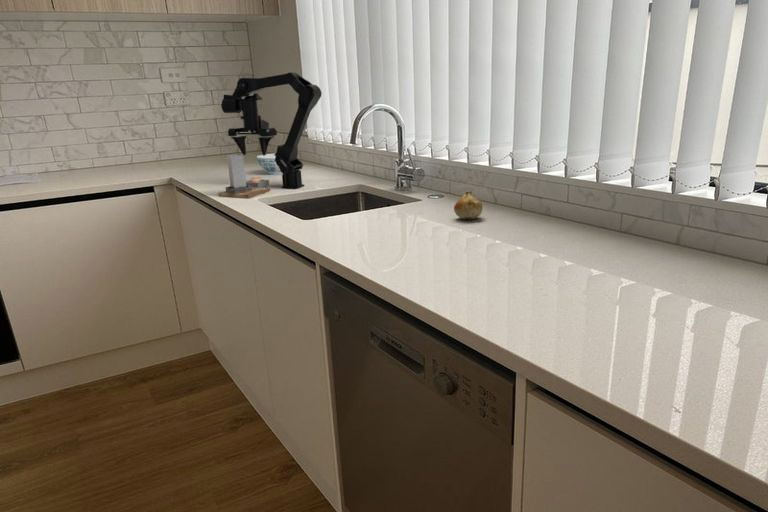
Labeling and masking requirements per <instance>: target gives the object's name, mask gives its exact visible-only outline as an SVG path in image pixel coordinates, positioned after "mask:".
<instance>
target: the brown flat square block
mask: <svg viewBox="0 0 768 512" xmlns="http://www.w3.org/2000/svg"><path fill="white" fill-rule="evenodd" d="M224 189H225V191H221V192H218V197H220V198H221V197H222V198H237V199H251V198H255V197H257V195H258V196H261V195H264V194H267V193H270V192H269V191H271V188H270V187H265V188H257V187H251V186H250V185H246V188H242V189H231V186H230V185H229V186H225V188H224ZM266 192H267V193H266ZM263 193H264V194H263ZM260 194H261V195H260ZM254 196H255V197H254Z"/></svg>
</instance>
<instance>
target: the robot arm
mask: <svg viewBox="0 0 768 512" xmlns="http://www.w3.org/2000/svg"><path fill="white" fill-rule="evenodd" d="M287 85H290V87H291V88H292V90H294V92H296V93H297V94H298V97H297V104H298V107H297V110H296V112H295V115H294V118H293V120H292V123H291V126H290V130H289V132H288V135H287V137H286V140H285V142H284V144H279V145H277V148H276V152H275V153H274V154H275V155H274V156H276V157H275V162H276V164H277V165H278V166H279V168H280V171H281V173H282V175H281V179H282V186H281V188H282V189H291V188H293V189H294V188H296V189H298V187H299V188H301V186H302V187H305V184H303V179H302V178H303V177H302V169H303V166H304V163H302V161H301V160H300V159H298V153H299V142H300V140H301V138H302V135H303V134H304V133H303V132H304V130H305V128H306V124H307V122H308V119H309V116H310V113H311V111H312V110H313V109H314V108H315V106H317V104H318V102H319V101H320V99H321V97H322V90H321V88H320V87H319V86H318V85H317V84H313V83H312V82H310V81H309V80H307V79H305V78H304V77H302V76H301V75H300V74H299V73H297V72H295V71H293V72H292V71H291V72H287V73H283V74H278V75H277V74H276V75H272V76H265V77H241V78H239V79H238V80H237V82H236V88H235V89H234V91H233V93H232V94H223V98H222V101H221V105H220V106H221V111H223V113H224V114H240V113H242V114H241V116H240V120H242V123H243V126H242V127H230V128H228V130H227V135H228V137H230V138H231V139H232V140H233V141H234V142H235V144H236V146H237V147H238V149H239V150H240V151H241V154H242V155H243V156H246V154H247V150H246V149H247V148H246V139H247V135H259V136H260V137H258V140H259V144H260V145H259V146H260V150H261V153H262V154H261V155H263V156H265V155H266V154H267V152H268V151H267V150H268V147H269V144H270V141H271V140H272V139H274V138H275V136H277V135H278V134H277V129H276V128H275V127H269V126H270V123H269V122H268V121H266V120H264V119H262V116H261V114H259V110H258V109H259V108H258V101H262V100H263V97H261V96H260V95H259V92H262V91H263V90H265V89H270V88H275V87H282V86H287Z"/></svg>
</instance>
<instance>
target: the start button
mask: <svg viewBox="0 0 768 512" xmlns="http://www.w3.org/2000/svg"><path fill="white" fill-rule="evenodd" d="M261 179H262V178H261V177H259V176H257V177H251V178H249V180H250V181H251V182H260V181H261Z"/></svg>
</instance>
